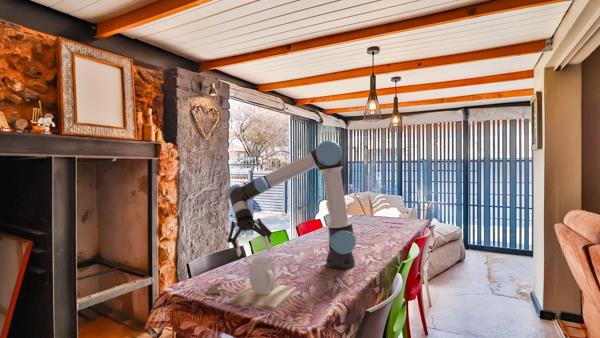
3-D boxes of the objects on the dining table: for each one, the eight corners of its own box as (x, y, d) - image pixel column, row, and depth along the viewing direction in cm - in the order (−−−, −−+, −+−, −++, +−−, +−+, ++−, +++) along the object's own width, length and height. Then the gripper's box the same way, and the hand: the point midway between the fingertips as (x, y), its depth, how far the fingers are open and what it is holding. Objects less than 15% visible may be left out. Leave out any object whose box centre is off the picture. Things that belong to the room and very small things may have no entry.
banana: (204, 300, 132) (204, 296, 132) (207, 283, 152) (206, 279, 152) (227, 295, 134) (226, 290, 134) (226, 279, 154) (226, 275, 154)
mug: (286, 296, 128) (285, 263, 127) (261, 303, 122) (260, 269, 121) (268, 284, 140) (267, 254, 140) (244, 290, 134) (244, 259, 134)
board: (296, 290, 137) (296, 286, 137) (275, 310, 118) (275, 306, 118) (255, 284, 144) (255, 281, 144) (229, 303, 126) (229, 299, 126)
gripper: (265, 215, 160) (278, 252, 147) (214, 220, 148) (224, 261, 135) (269, 205, 155) (283, 243, 142) (217, 210, 143) (228, 252, 131)
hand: (255, 252), depth 139 cm, fingers open, 13 cm apart
